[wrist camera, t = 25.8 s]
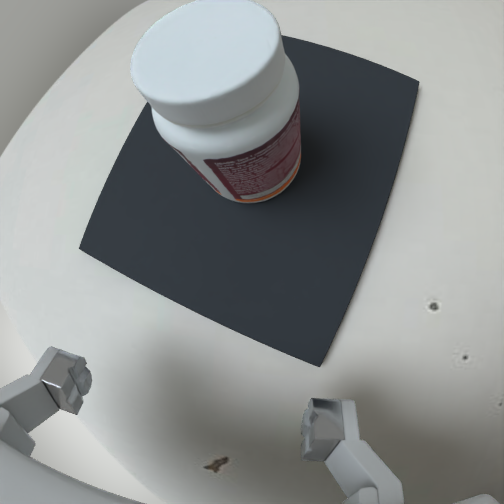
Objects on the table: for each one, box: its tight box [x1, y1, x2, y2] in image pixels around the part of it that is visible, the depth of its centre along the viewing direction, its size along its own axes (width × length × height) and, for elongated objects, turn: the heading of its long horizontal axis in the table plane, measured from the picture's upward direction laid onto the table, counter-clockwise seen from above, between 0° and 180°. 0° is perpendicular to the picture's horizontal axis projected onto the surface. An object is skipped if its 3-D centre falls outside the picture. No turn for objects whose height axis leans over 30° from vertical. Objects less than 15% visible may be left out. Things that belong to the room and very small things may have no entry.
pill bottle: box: [130, 0, 301, 203], centre depth 11 cm, size 5×5×8 cm
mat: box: [79, 35, 419, 367], centre depth 15 cm, size 16×14×1 cm
